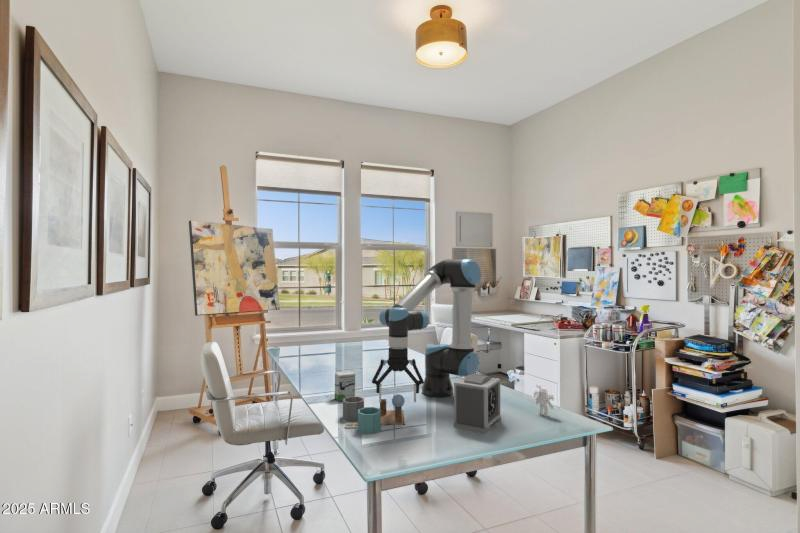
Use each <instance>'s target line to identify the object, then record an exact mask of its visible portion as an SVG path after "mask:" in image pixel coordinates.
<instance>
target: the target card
mask: <svg viewBox="0 0 800 533" xmlns="http://www.w3.org/2000/svg"><path fill="white" fill-rule="evenodd" d="M343 428H344V429H358V422H345V423H344V427H343Z"/></svg>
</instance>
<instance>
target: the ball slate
mask: <svg viewBox="0 0 800 533" xmlns="http://www.w3.org/2000/svg"><path fill="white" fill-rule="evenodd" d="M405 401H406V400H405V397H404V396H403V395H402V394H399V393H398V394H395V395H393V397H392V398H391V404H392V405H393V406H394V408H395V407H397V408H399V407H403V406H404V405H405Z"/></svg>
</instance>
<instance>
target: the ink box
mask: <svg viewBox="0 0 800 533" xmlns="http://www.w3.org/2000/svg"><path fill="white" fill-rule="evenodd" d="M347 397H356V373H355V372H353V371H341V372H335V373H334V399H335V400H336V401H338V402H340V401H342V402H343V399H344V398H347Z"/></svg>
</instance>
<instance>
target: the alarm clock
mask: <svg viewBox="0 0 800 533" xmlns="http://www.w3.org/2000/svg"><path fill="white" fill-rule="evenodd" d="M453 394H454V396H453V397H454V399H453V404H454V405H453V406H454V407H453V410H454V411H453V418H454V419H453V422H452V423H453V424H452V425H453V427H454V428H456V429H460V430H465V431H469V432H474V433H480V434H488V433H489V431H490V430H491V429H490V428H491V425H492V424H494V423H499V422H500V421H501V420H502V415H501V378H497V377H491V376H488V375H483V374H481V375H480V374H476V373H474V374H469V375H467V376H466V377H461V378H460V379H458V380H456V381H454V382H453Z"/></svg>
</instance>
